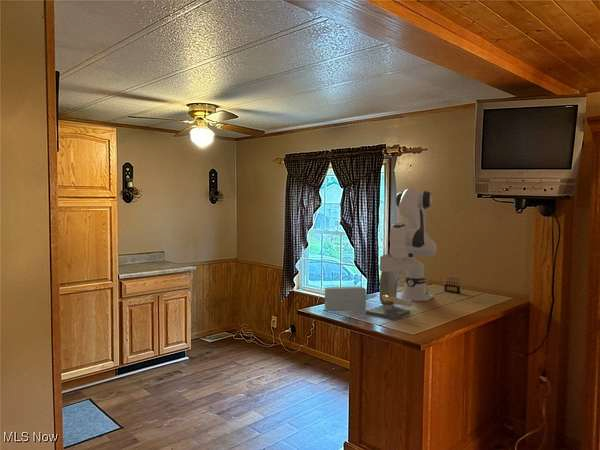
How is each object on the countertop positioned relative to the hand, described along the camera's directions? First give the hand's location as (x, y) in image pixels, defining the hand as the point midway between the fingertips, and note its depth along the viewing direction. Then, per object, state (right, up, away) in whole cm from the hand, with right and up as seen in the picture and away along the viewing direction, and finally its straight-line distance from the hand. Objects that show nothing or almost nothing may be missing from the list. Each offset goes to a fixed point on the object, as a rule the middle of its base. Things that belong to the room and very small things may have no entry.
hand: (397, 279), depth 241 cm
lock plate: (-3, -21, +10) cm, 23 cm away
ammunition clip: (+54, -18, +71) cm, 91 cm away
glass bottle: (+1, -20, +30) cm, 36 cm away
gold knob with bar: (+1, -15, +6) cm, 16 cm away
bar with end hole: (-26, -20, +18) cm, 38 cm away
